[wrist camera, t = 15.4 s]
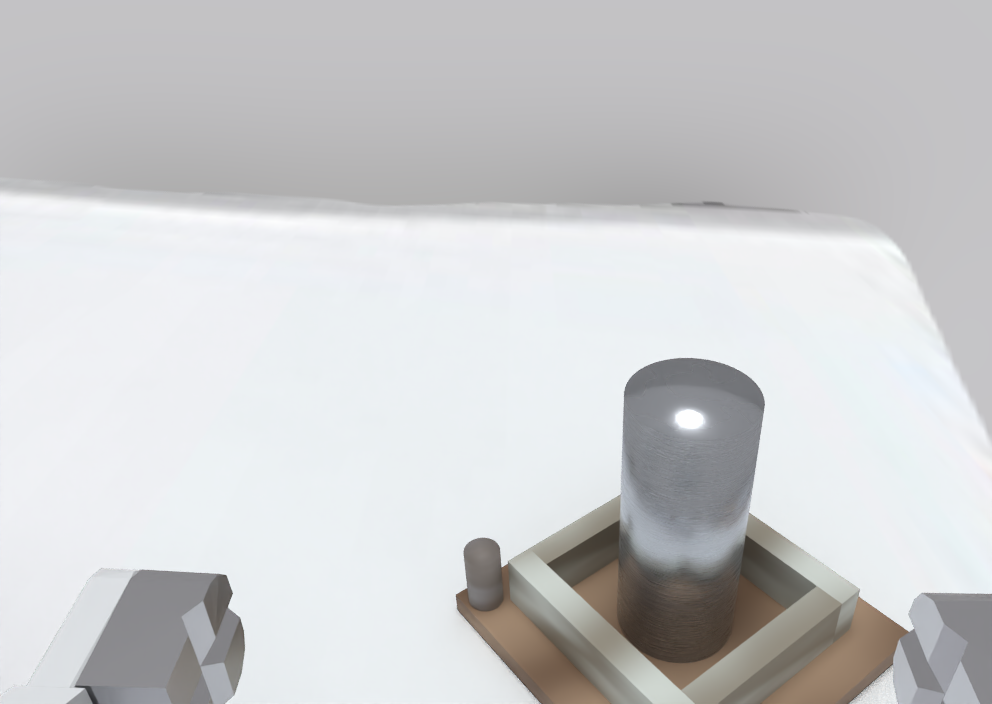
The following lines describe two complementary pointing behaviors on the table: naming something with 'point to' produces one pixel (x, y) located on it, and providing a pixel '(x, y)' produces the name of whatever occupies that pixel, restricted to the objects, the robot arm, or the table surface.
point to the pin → (685, 504)
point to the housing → (659, 684)
